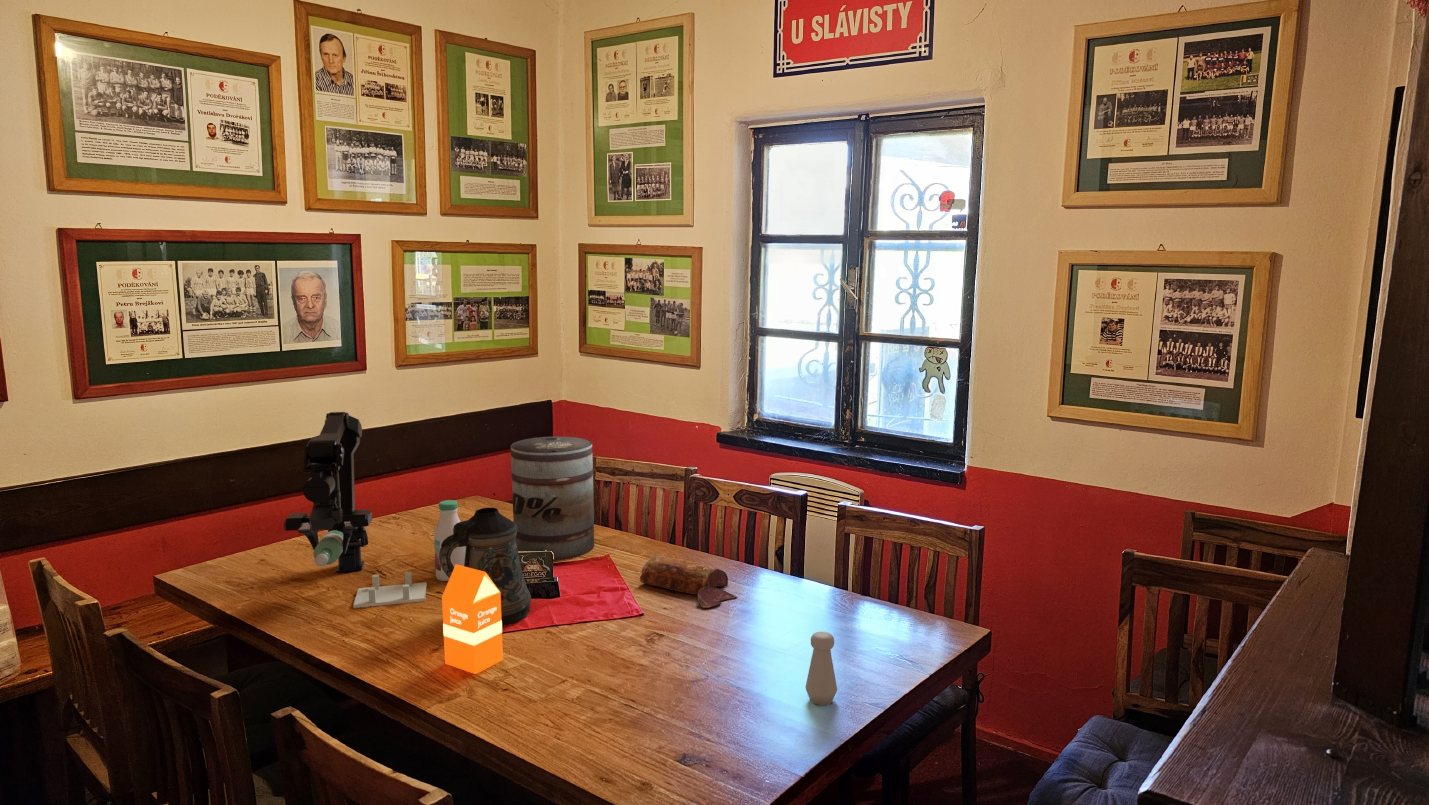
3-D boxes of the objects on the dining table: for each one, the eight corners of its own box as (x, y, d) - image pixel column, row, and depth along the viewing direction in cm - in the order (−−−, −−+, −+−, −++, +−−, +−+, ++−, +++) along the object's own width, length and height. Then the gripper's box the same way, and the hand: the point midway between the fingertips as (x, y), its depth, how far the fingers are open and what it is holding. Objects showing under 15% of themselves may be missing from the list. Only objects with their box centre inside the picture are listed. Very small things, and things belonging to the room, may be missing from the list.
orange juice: (475, 674, 174) (470, 577, 171) (444, 663, 179) (439, 569, 176) (503, 659, 181) (500, 566, 178) (473, 649, 186) (469, 558, 182)
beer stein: (545, 607, 208) (542, 504, 204) (492, 639, 191) (488, 527, 187) (489, 596, 215) (485, 496, 211) (433, 625, 198) (427, 517, 194)
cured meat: (714, 613, 205) (715, 584, 204) (629, 592, 218) (629, 565, 218) (753, 590, 221) (753, 564, 220) (670, 572, 234) (670, 547, 233)
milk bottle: (471, 572, 232) (468, 498, 228) (460, 582, 224) (456, 506, 221) (443, 571, 232) (439, 497, 229) (431, 581, 225) (427, 505, 222)
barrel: (501, 544, 254) (497, 442, 249) (571, 530, 267) (568, 433, 263) (535, 566, 236) (532, 456, 231) (608, 549, 250) (606, 446, 245)
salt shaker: (803, 693, 167) (804, 628, 165) (832, 692, 168) (834, 627, 165) (808, 708, 161) (810, 641, 159) (839, 707, 162) (841, 640, 160)
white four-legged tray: (353, 608, 207) (352, 592, 207) (358, 591, 218) (357, 576, 217) (424, 601, 212) (424, 585, 211) (426, 585, 222) (425, 570, 222)
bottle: (322, 553, 216) (321, 530, 215) (347, 552, 217) (346, 529, 216) (308, 573, 202) (307, 549, 202) (334, 572, 204) (333, 548, 203)
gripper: (274, 502, 200) (280, 568, 203) (361, 498, 204) (365, 563, 206) (288, 490, 211) (293, 552, 213) (370, 486, 215) (374, 548, 217)
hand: (331, 554), depth 212 cm, fingers closed on bottle, 6 cm apart
